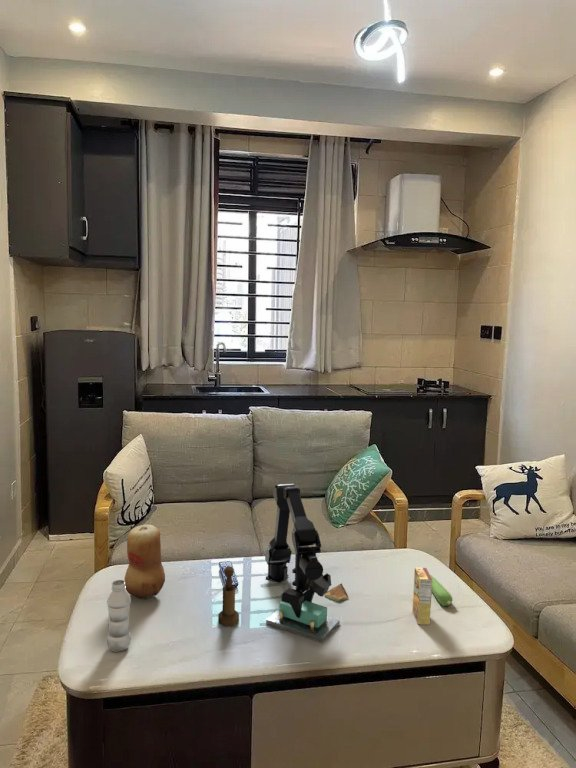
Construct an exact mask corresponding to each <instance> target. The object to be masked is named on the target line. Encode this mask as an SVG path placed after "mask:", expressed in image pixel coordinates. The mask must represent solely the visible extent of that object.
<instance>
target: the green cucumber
mask: <svg viewBox="0 0 576 768" xmlns="http://www.w3.org/2000/svg"><path fill="white" fill-rule="evenodd" d="M430 576H431V578H432V594H433V595H434V597H435V598H436V600H437V601H438V603H439V604H440V605H441V606H442V607H449V606H450V605H452V602H453V596H452V595H451V594H452V593H450V592H449V591H448V590H447V588H446V587H444V586H443V585H442V584H441V583H440V582H439V581H438V580H437V578H435V577H434V576H433V575H432V574H430Z"/></svg>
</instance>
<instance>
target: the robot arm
mask: <svg viewBox="0 0 576 768" xmlns="http://www.w3.org/2000/svg"><path fill="white" fill-rule="evenodd" d="M272 497H273V499H274V502H275V504H276V506H277V508H276V518H275V526H274V537H273V538H272V539H271V540H270V541H269V543H268V548H267V549H266V551H265V554H264V559H265V562H266V564H267V575H266V576H265V579H266V580H270V581H272V582H277V583H281V582H283V581H284V580H286V579H287V578H288V577H289V574H288V569H289V568H288V567H289V566H287V564H290V563H291V557H292V553H293V552H292V550H291V547H290V544H289V542H288V533H289V521H290V516H291V519H292V523H293V528H292V532H291V539H292V540H291V541H292V544H293V549H294V552H295V556H294V557H295V558H294V559H295V561H294V568H293V569H292V572H291V573H292V574H294V580H293V581H292V582H291V584H292V585H291V586H293V587H295V588H291V587H288V588H287V589H286V590H285V591H283V592H282V593H281V594H280V602H281V601H282V602H286V603H289V604H290V605H291V607H292V609H293V611H294V613H295V615H296V617H297V618H300V615H301V609H302V603H304V602H305V601H309V602H312V603H313V599H314V595H315V594H317V596H319V597H325V593H327V592H328V591H329V590H330V589H329V588H330V587H331V586H332V579H331V577H332V576H331V575H330V574H329V573H328V572H325V574H324V566H323V565H322V564H321V562H320V560H319V559H318V557H317V553H319V554H320V553H321V551H322V550H321V548H322V543H321V539H320V534H319V533H318V530H317V529H316V527H315V525H314V523H313V522H312V521H311V520H310V519H309V518H308V517H307V513H306V509H305V506H304V503H303V502H302V498H301V490H300V486H296V485H295V484H294V483H282V484H281V483H279V484H276V485H274V487H273V488H272Z"/></svg>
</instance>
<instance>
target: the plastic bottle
mask: <svg viewBox="0 0 576 768" xmlns="http://www.w3.org/2000/svg"><path fill="white" fill-rule="evenodd" d="M131 600H132V598H131V595H130V594H129V593H128V592H127V590H126V586H125V581H124V580H123V579H117V580H114V581H112V582H111V593H109V595H108V597H107V600H106V602H107V603H106V604H107V605H106V606H107V612H108V621H109V623H108V634H107V638H106V643H107V647H108V649H109V650H110V651H112V652H115V653H116V652H123V651H126V650H127V649H128V648H129V646H130V645H131V641H132V635H131V630H130V621H129V619H130V607H131V603H132V601H131Z"/></svg>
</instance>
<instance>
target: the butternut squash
mask: <svg viewBox="0 0 576 768" xmlns="http://www.w3.org/2000/svg"><path fill="white" fill-rule="evenodd" d="M161 544H162V543H161V532H160V530H159V529H158V527H156V526H154V525H153V524H141V525H138V526H135V527H134V528H132V529H131V530H130V531H129V533H128V534H127V539H126V554H127V559H128V566H127V567H126V571H125V576H124V581H125V586H126V589H125V590H126V591H127V592H128V594H129V595H130V596H133V597H135V598H138V599H141V600H147V599H148V598H150V597H153V596H157V595H158V594H160V592H161V590H162V589H163V587H164V585H165V582H166V573H165V569H164V565H163V564H162V545H161Z"/></svg>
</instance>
